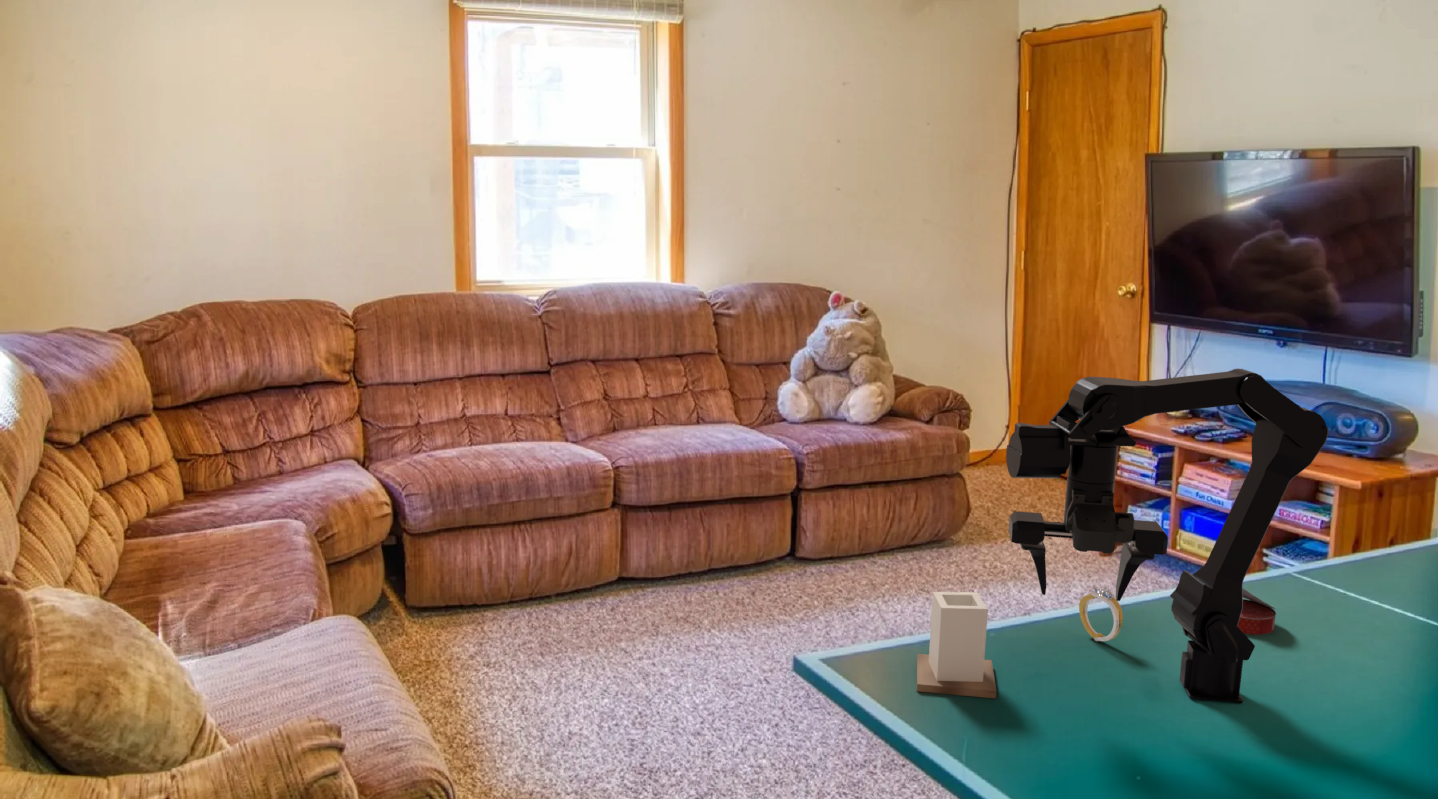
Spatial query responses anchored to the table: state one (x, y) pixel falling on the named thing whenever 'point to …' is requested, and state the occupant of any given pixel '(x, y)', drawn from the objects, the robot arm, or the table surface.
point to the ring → (1114, 606)
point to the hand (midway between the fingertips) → (1080, 596)
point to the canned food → (1256, 616)
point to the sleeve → (958, 636)
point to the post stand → (966, 688)
